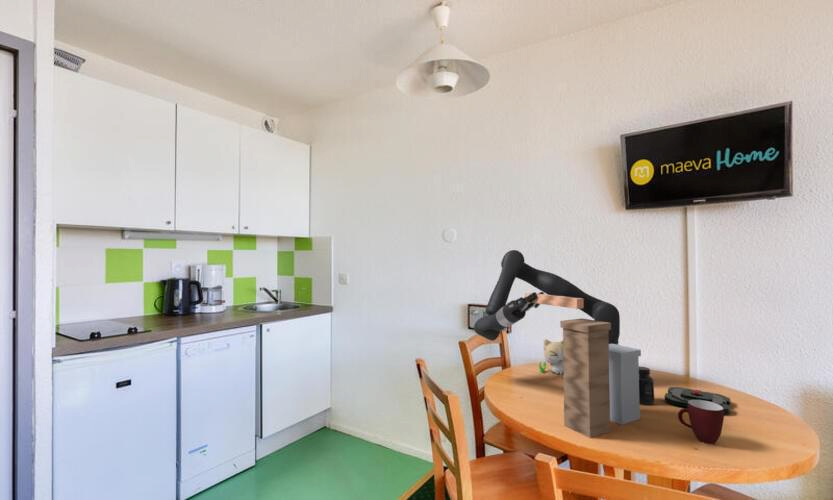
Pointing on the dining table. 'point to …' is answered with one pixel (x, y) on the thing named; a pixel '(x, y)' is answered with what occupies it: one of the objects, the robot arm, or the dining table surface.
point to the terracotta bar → (558, 301)
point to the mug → (704, 420)
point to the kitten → (553, 356)
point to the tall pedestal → (586, 376)
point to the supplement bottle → (645, 387)
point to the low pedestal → (624, 383)
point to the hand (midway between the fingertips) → (539, 294)
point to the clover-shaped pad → (695, 397)
